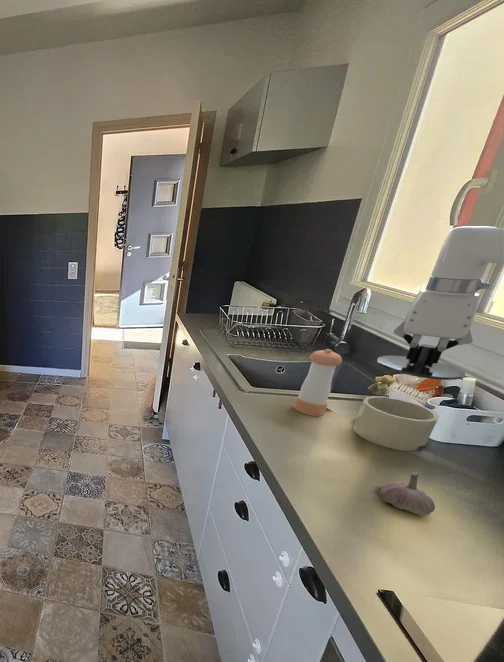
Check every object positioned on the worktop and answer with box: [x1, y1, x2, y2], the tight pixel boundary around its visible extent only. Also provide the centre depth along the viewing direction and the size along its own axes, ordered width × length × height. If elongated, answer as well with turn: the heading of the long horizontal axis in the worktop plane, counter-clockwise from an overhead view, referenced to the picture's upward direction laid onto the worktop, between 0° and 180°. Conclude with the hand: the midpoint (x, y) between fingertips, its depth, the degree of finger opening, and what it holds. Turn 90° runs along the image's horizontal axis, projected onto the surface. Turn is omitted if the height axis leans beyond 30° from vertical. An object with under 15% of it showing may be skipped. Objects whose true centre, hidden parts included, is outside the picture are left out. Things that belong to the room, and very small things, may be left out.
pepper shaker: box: [293, 348, 343, 417], centre depth 110 cm, size 7×7×19 cm
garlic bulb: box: [378, 471, 436, 517], centre depth 75 cm, size 8×7×8 cm
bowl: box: [352, 395, 440, 452], centre depth 98 cm, size 14×14×8 cm
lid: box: [376, 343, 466, 381], centre depth 91 cm, size 15×15×6 cm
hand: (419, 363), depth 91 cm, fingers closed on lid, 2 cm apart
